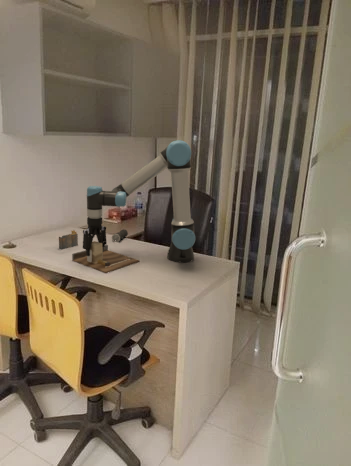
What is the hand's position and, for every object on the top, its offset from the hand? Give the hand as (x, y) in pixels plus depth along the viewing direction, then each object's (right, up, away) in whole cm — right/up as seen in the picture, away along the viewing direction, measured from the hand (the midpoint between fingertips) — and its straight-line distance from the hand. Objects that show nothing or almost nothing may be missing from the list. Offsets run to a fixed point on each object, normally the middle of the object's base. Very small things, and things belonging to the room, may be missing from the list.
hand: (95, 259), depth 190 cm
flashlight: (+6, +10, +46) cm, 48 cm away
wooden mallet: (+3, -2, -2) cm, 4 cm away
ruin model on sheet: (-21, +5, +25) cm, 33 cm away
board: (+5, -1, +4) cm, 7 cm away
